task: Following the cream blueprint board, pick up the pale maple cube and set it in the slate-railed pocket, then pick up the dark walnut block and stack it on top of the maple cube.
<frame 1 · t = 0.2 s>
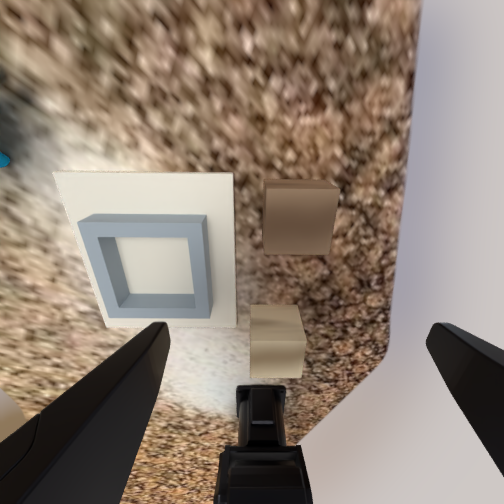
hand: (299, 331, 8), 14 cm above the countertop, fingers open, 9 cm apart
blueprint board: (162, 258, 23), on the countertop
maple cube: (272, 322, 26), on the countertop
walnut block: (291, 208, 21), on the countertop
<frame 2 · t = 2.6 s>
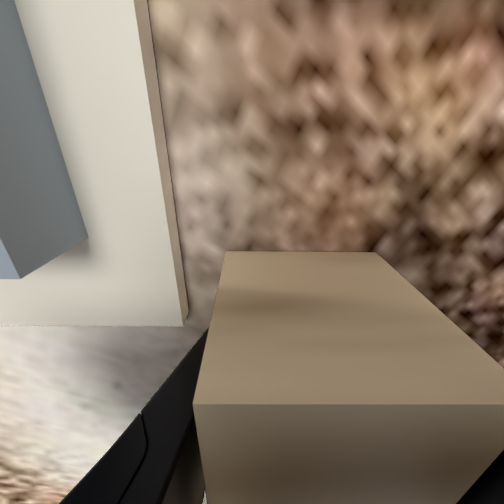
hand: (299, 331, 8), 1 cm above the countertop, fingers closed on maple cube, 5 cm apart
maple cube: (294, 311, 9), on the countertop, touching gripper
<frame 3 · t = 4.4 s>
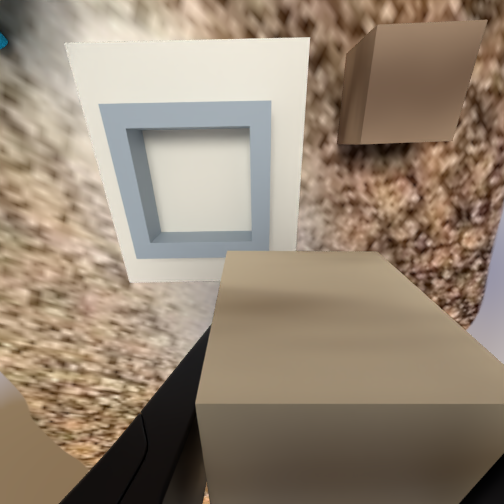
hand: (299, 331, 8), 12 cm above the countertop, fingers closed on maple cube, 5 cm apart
blueprint board: (203, 183, 17), on the countertop
maple cube: (295, 310, 9), point 11 cm above the countertop, touching gripper
walnut block: (378, 100, 15), on the countertop
when the fingers open (4 cm above the countertop, at t = 6.6 s): maple cube drops 2 cm, resting on blueprint board.
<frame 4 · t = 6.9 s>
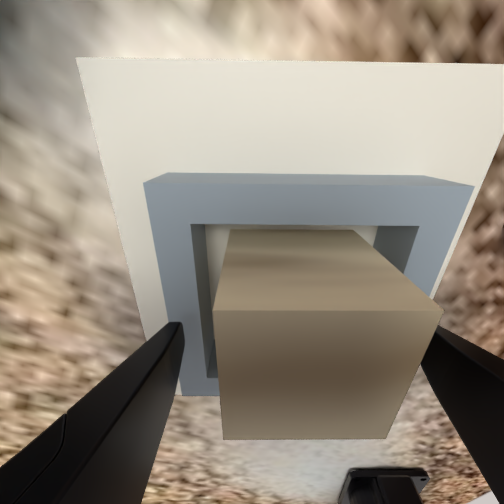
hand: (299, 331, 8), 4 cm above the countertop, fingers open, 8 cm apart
blueprint board: (284, 273, 11), on the countertop
maple cube: (287, 281, 11), point 1 cm above the countertop, touching blueprint board
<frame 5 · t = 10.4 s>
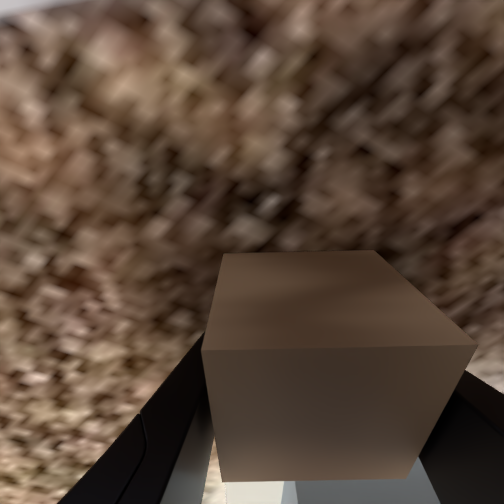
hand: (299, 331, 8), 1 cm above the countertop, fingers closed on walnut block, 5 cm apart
blueprint board: (359, 469, 14), on the countertop
walnut block: (294, 311, 9), on the countertop, touching gripper
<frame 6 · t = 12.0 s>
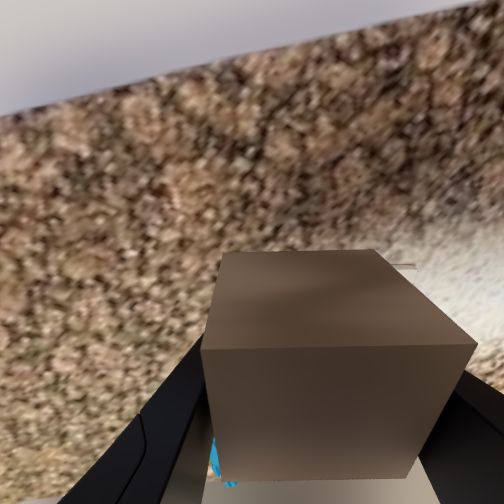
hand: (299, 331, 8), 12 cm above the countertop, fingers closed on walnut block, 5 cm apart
walnut block: (294, 310, 9), point 11 cm above the countertop, touching gripper
when the fingers open (8 cm above the countertop, at t = 13.8 s): walnut block moves 1 cm, resting on maple cube.
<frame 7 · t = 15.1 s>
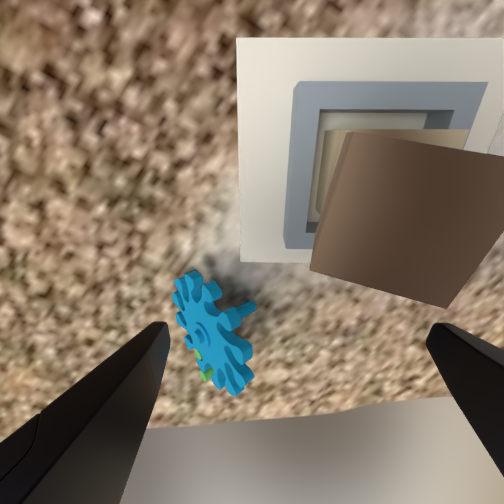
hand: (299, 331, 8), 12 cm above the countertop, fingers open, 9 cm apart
gear: (216, 304, 23), on the countertop
blueprint board: (353, 171, 17), on the countertop
maple cube: (356, 172, 16), point 1 cm above the countertop, touching blueprint board, walnut block
walnut block: (382, 199, 11), point 6 cm above the countertop, tilted 15°, touching maple cube
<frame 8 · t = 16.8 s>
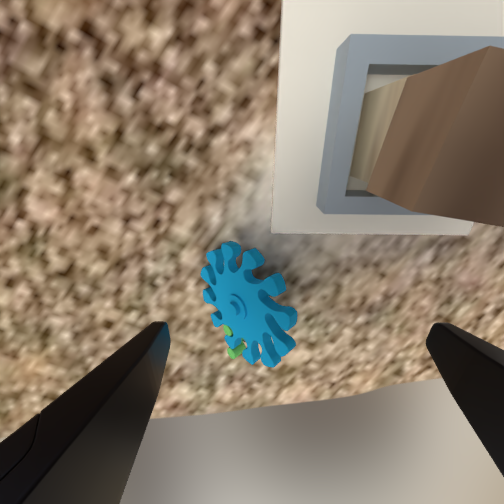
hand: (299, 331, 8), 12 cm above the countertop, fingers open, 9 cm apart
gear: (243, 282, 22), on the countertop
blueprint board: (387, 138, 17), on the countertop
maple cube: (393, 137, 16), point 1 cm above the countertop, touching blueprint board, walnut block
walnut block: (432, 148, 12), point 6 cm above the countertop, touching maple cube
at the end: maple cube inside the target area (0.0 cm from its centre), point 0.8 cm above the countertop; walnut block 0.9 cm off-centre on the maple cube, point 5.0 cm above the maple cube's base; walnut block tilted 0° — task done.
